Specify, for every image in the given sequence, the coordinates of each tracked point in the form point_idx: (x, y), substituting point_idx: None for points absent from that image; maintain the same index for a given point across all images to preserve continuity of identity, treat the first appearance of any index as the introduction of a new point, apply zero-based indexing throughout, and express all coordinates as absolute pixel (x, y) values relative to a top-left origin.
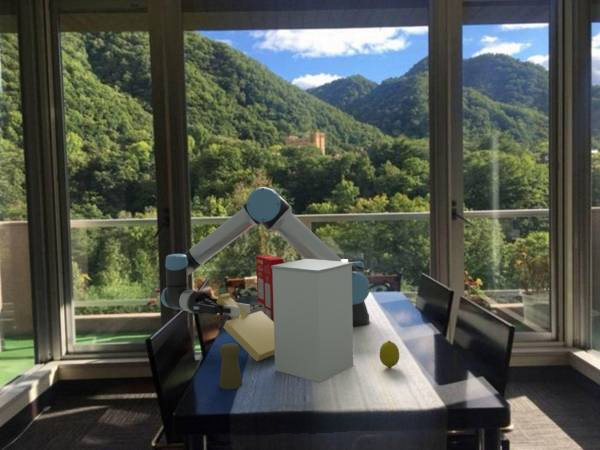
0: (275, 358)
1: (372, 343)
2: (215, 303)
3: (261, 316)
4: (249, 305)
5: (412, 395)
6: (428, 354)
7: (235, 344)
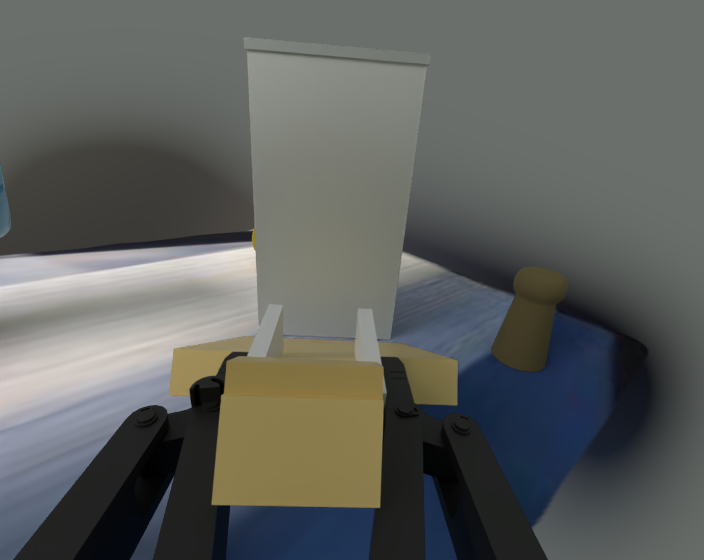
0: (393, 313)
1: (120, 292)
2: (374, 539)
3: (227, 347)
4: (275, 307)
5: None
6: (180, 249)
7: (528, 267)
